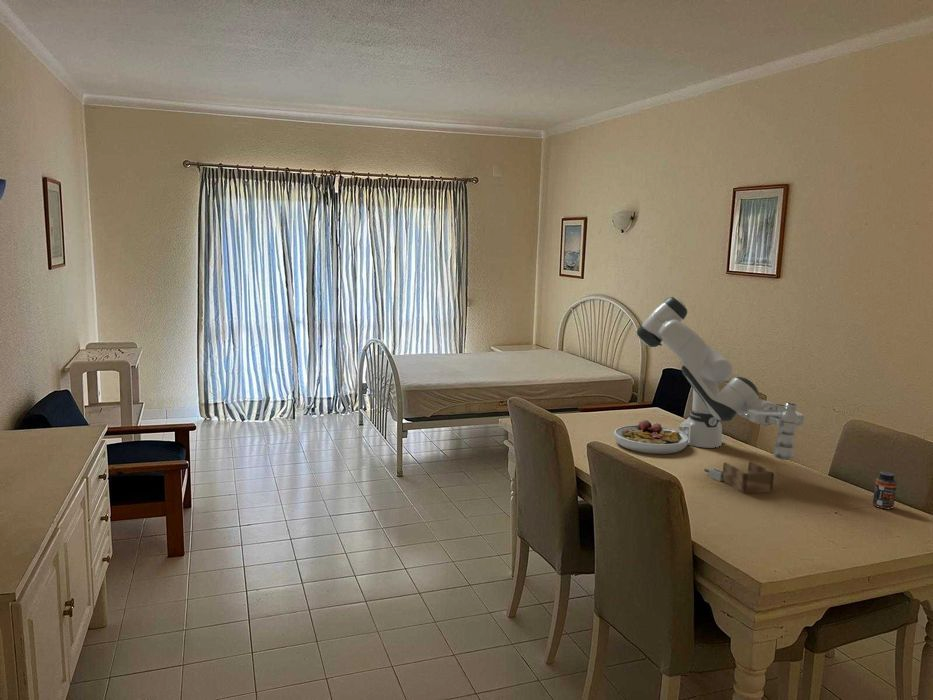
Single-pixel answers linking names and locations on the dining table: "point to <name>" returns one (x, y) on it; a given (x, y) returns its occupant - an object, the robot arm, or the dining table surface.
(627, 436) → the bowl
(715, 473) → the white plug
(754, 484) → the end cradle
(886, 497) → the supplement bottle
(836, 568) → the dining table surface
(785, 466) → the dining table surface
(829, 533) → the dining table surface
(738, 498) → the dining table surface
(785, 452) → the plastic bottle
